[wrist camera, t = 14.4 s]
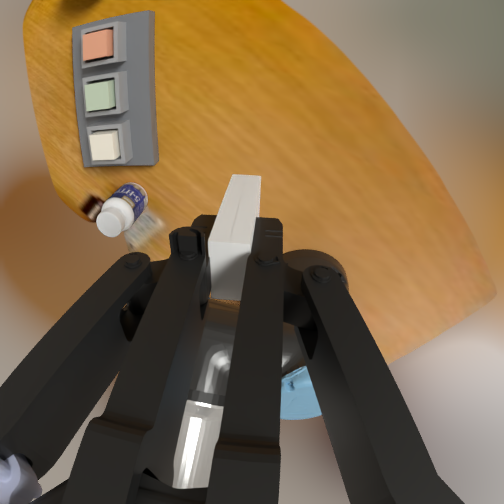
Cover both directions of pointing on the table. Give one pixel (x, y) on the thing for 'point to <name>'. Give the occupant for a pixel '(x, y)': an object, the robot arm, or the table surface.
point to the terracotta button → (98, 45)
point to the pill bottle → (122, 209)
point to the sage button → (100, 95)
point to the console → (120, 89)
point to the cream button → (105, 144)
